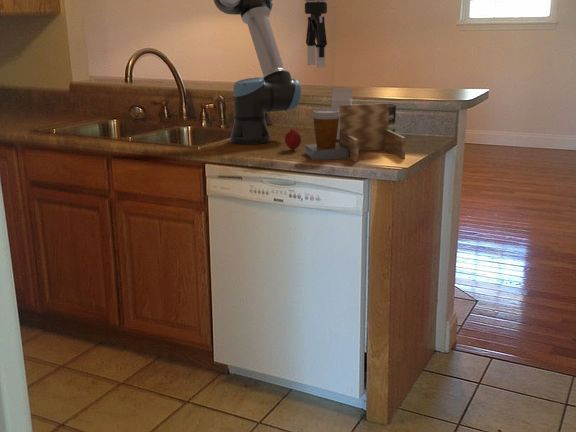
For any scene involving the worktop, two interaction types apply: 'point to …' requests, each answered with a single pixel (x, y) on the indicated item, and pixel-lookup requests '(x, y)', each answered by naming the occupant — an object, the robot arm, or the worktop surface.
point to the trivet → (326, 152)
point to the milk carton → (341, 102)
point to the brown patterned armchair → (368, 130)
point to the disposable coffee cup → (326, 127)
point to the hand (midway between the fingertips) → (316, 66)
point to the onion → (292, 139)
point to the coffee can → (392, 117)
